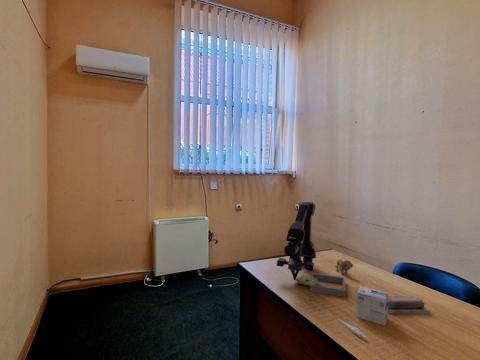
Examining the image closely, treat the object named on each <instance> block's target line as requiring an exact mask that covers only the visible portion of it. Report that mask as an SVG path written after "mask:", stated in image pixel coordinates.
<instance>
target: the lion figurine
mask: <svg viewBox="0 0 480 360" xmlns="http://www.w3.org/2000/svg"><path fill="white" fill-rule="evenodd" d="M334 267H335V268H336V269H335V270H336V272H339V270H341V276H342V277H344V276H348V272H349V270H351V268H353V267H354V264H353V263H352V262H351V260H348V259H347V260H343V259H341V258H339V259H337V261H336V265H335V266H334Z"/></svg>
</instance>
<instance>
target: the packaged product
mask: <svg viewBox="0 0 480 360" xmlns="http://www.w3.org/2000/svg"><path fill="white" fill-rule="evenodd" d="M388 314H389V315H394V314H397V315H430V314H431V310H430V309H428V308H427V307H425V302H424V301H423V299H421V298H419V297H416V296H411V295H410V296H409V295H408V296H406V295H388V310H387V315H388Z"/></svg>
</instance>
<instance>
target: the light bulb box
mask: <svg viewBox="0 0 480 360" xmlns="http://www.w3.org/2000/svg"><path fill="white" fill-rule="evenodd" d="M388 296H389V294H388V292H385V291H383V290H382V291H381V290H377V289H373V288H368V287H364V286H359V288H358V289H357V292H356V316H355V317H356V318H359V319H361V320H365V321H368V322H372V323H375V324H378V325H382V326H386V324H387V321H388V313H387V310H388Z"/></svg>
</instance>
